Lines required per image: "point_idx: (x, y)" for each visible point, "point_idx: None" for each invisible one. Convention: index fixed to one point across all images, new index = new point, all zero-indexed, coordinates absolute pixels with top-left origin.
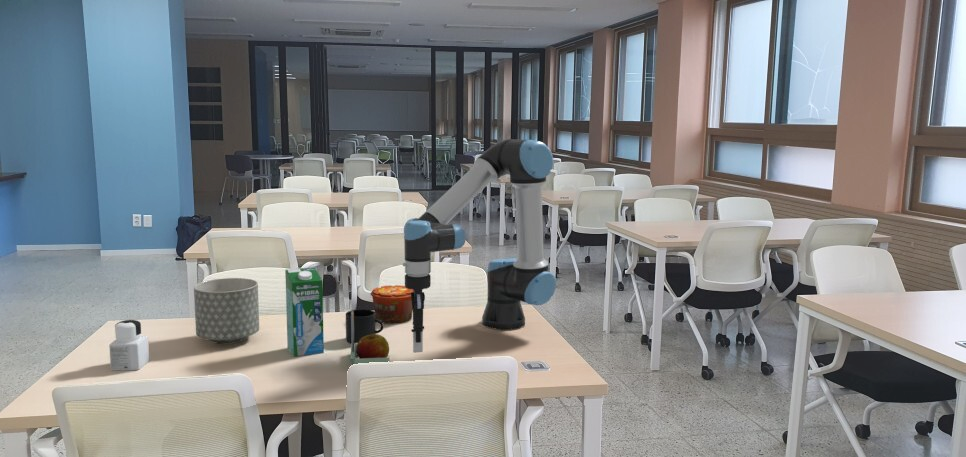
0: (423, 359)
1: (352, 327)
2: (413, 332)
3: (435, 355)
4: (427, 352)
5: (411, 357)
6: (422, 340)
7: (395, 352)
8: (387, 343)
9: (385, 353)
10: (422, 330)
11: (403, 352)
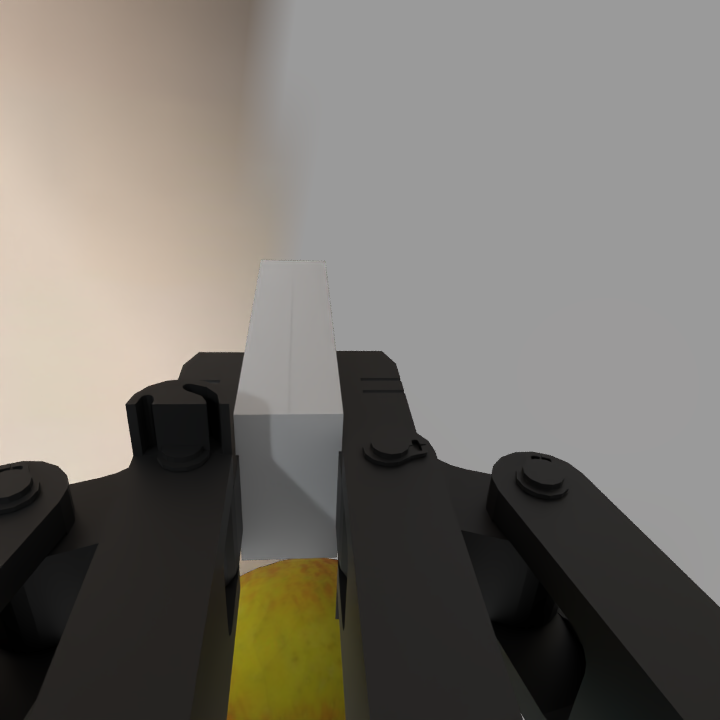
0: (278, 216)
1: None
2: (333, 540)
3: (139, 47)
4: (22, 141)
5: (205, 332)
6: (331, 328)
7: (52, 461)
8: (334, 671)
9: None
10: (573, 475)
11: (46, 396)
